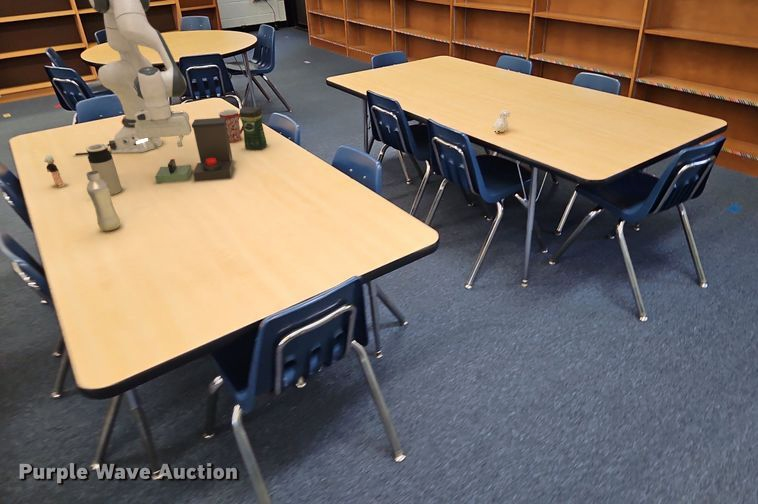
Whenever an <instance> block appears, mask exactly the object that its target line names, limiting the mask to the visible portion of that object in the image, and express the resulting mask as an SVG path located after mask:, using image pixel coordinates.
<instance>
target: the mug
mask: <svg viewBox="0 0 758 504" xmlns="http://www.w3.org/2000/svg"><path fill="white" fill-rule="evenodd" d="M218 117H219V118H224V117H226V126H227V132H228V137H229V142H230V143H237V142H240V141H241V140H242V133H243V132H244V131H243V125H242V126H240V112H239V110H237V109H225V110H221V111H219V112H218ZM240 127H241V128H240Z"/></svg>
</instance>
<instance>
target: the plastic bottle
mask: <svg viewBox="0 0 758 504" xmlns="http://www.w3.org/2000/svg"><path fill="white" fill-rule="evenodd" d="M85 175H86V178H87V181H88V183H87V185H86V192H87V194H88V197H89V198H90V200H91V202H92V204H93V207H94V210H95V215H96V221H97V226H98V227H99V229H100V230H102V231H105V232H109V231H113V230H117V229H118V228H119V227H120V224H121V219H120V218H119V217H120V216H119V215H118V213H117V212H116V210H115V206H114V204H113V201H112V195H110V188H109V185H108V184H107V183H106V182H105V181H104V180H102V179H101V175H100V173H99V171H92V170H91V171H88V172H86V173H85Z"/></svg>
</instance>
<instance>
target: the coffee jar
mask: <svg viewBox="0 0 758 504" xmlns="http://www.w3.org/2000/svg"><path fill="white" fill-rule="evenodd" d="M239 113H240V118H239V120H240V121H241V124H242V126H243V131H242V132H243V141H244V148H245V149H246V150H254V151H255V150H263V149H265V148H266V147H267V145H268V144H267V143H268V141H267V138H266V134H265V129H264V126H263V121H262V120H263V111H262V109H261V107H260V106H243V107H241V108H240V109H239Z"/></svg>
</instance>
